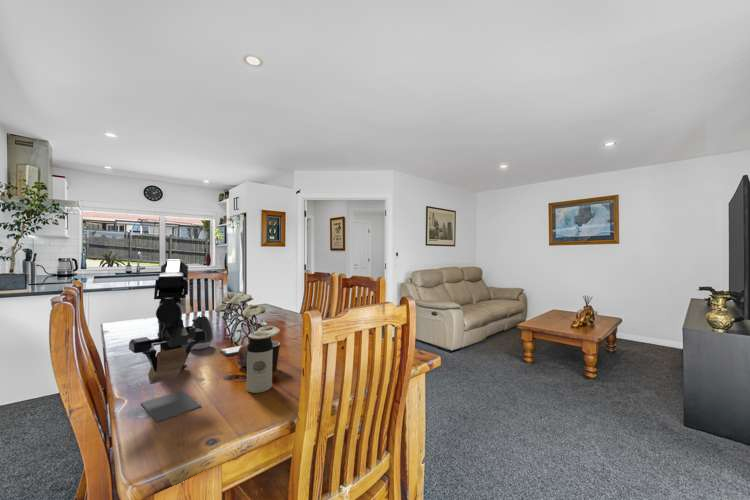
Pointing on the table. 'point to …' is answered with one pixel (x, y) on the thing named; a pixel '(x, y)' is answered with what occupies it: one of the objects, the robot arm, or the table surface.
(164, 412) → the mat
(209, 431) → the table surface
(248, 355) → the travel mug
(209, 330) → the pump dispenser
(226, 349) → the phone case
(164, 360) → the board
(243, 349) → the tin
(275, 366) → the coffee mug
